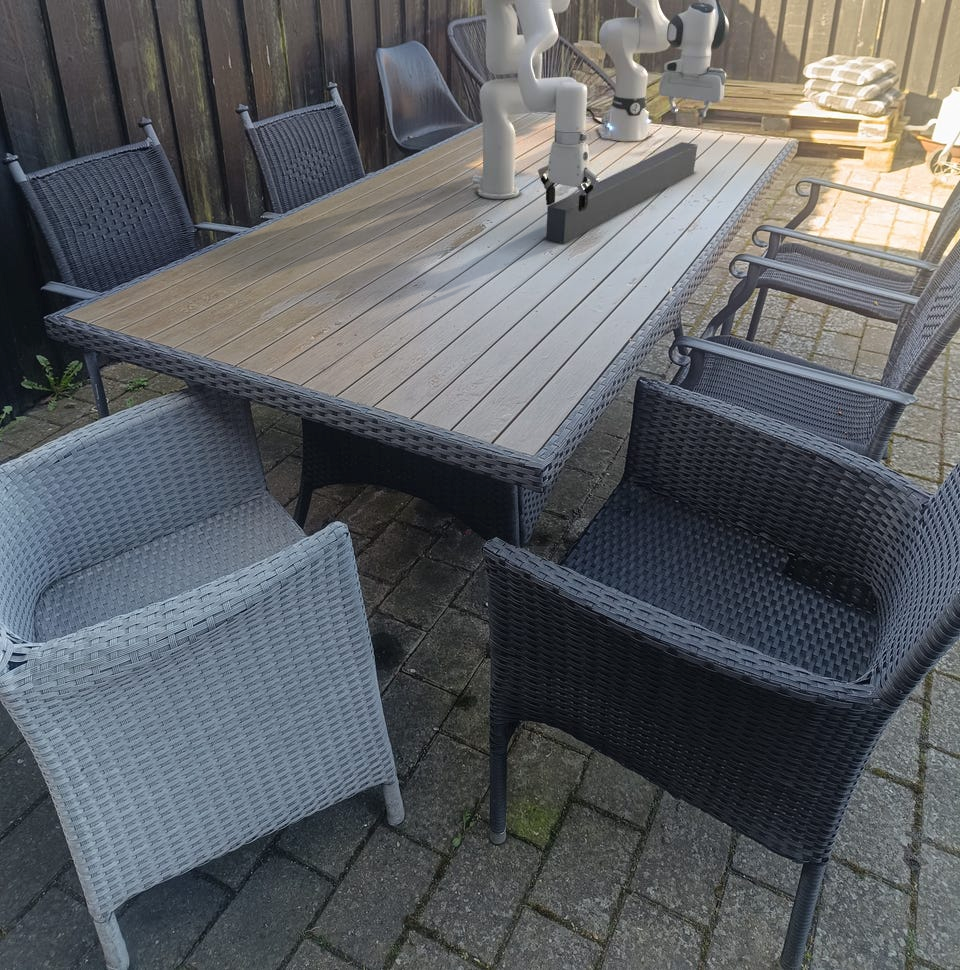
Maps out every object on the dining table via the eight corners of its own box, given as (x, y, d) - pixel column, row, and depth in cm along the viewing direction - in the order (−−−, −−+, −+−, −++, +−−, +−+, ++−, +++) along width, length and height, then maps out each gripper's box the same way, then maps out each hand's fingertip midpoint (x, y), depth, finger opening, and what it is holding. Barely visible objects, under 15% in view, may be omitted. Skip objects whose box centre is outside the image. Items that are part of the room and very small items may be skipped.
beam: (563, 243, 220) (565, 210, 215) (546, 239, 223) (547, 206, 217) (693, 172, 274) (697, 144, 268) (677, 170, 276) (681, 142, 271)
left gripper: (607, 138, 208) (602, 208, 217) (548, 130, 216) (545, 198, 226) (592, 144, 203) (588, 216, 212) (532, 136, 211) (530, 205, 221)
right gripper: (731, 67, 251) (723, 117, 259) (668, 60, 260) (662, 108, 268) (723, 70, 246) (715, 121, 254) (659, 63, 256) (654, 112, 264)
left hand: (566, 206), depth 219 cm, fingers open, 9 cm apart
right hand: (688, 114), depth 261 cm, fingers open, 8 cm apart
